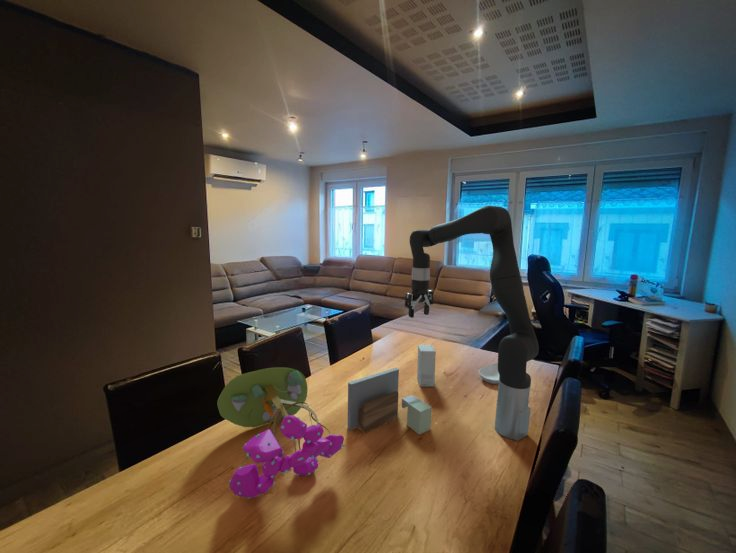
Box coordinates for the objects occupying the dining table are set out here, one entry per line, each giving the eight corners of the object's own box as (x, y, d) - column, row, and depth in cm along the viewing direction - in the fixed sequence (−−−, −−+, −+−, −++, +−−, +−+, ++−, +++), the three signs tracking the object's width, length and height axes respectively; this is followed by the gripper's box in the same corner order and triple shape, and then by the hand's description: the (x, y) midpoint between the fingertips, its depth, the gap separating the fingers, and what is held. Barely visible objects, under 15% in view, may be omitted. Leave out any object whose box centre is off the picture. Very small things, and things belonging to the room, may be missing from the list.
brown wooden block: (397, 418, 111) (398, 392, 109) (364, 433, 103) (364, 405, 101) (390, 413, 114) (391, 388, 112) (357, 427, 106) (358, 399, 104)
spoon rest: (496, 390, 132) (497, 374, 131) (472, 379, 141) (473, 363, 140) (527, 376, 145) (528, 361, 144) (503, 366, 155) (504, 352, 154)
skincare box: (434, 387, 133) (436, 351, 130) (418, 386, 133) (420, 351, 130) (431, 377, 141) (432, 344, 139) (416, 377, 141) (417, 343, 139)
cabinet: (430, 429, 105) (431, 406, 104) (419, 434, 103) (420, 411, 101) (411, 415, 113) (412, 394, 112) (400, 420, 110) (401, 398, 109)
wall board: (397, 410, 115) (398, 369, 113) (350, 430, 104) (350, 384, 101) (394, 408, 117) (395, 367, 114) (347, 427, 105) (348, 382, 103)
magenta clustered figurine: (302, 336, 103) (340, 405, 73) (320, 402, 114) (360, 486, 84) (203, 373, 93) (200, 471, 63) (233, 442, 104) (243, 553, 74)
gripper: (414, 281, 126) (412, 320, 129) (439, 278, 134) (437, 315, 137) (401, 278, 132) (400, 316, 135) (426, 275, 140) (424, 311, 143)
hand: (418, 315), depth 136 cm, fingers open, 8 cm apart
